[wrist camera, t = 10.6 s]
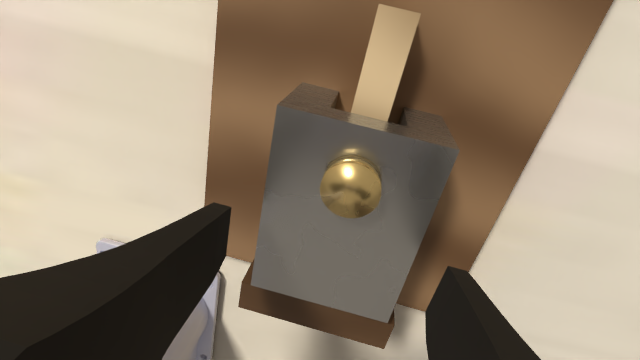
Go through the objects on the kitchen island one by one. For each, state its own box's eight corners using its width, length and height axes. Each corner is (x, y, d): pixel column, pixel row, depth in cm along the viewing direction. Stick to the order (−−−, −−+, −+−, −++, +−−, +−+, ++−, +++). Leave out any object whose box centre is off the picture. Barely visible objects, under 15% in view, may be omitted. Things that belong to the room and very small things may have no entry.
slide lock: (386, 262, 18) (387, 339, 14) (276, 232, 19) (244, 298, 14) (441, 115, 15) (464, 159, 10) (302, 82, 15) (269, 111, 11)
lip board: (441, 303, 20) (455, 376, 16) (209, 238, 21) (167, 292, 17) (721, -239, 10) (942, -402, 6) (253, -328, 11) (177, -527, 7)
